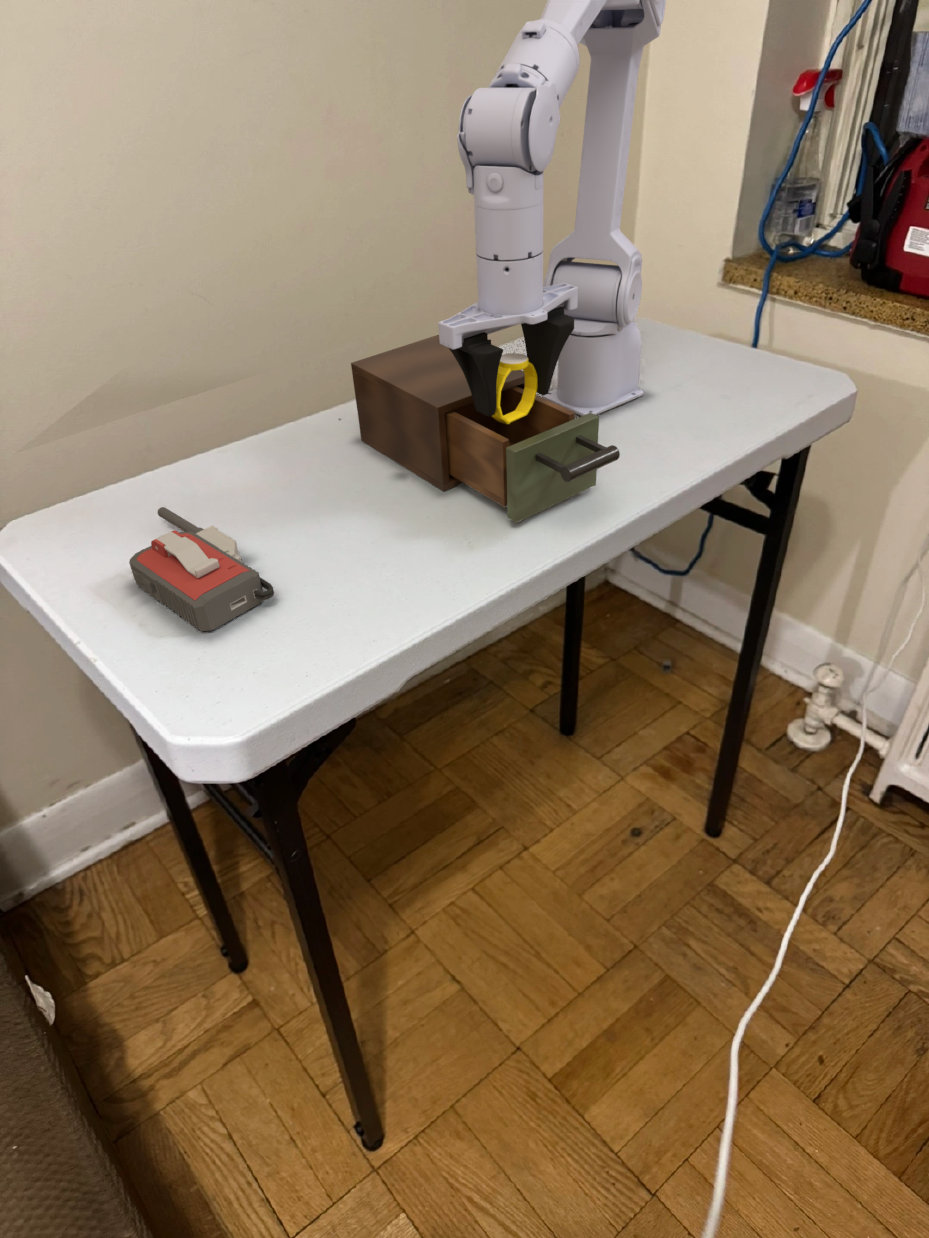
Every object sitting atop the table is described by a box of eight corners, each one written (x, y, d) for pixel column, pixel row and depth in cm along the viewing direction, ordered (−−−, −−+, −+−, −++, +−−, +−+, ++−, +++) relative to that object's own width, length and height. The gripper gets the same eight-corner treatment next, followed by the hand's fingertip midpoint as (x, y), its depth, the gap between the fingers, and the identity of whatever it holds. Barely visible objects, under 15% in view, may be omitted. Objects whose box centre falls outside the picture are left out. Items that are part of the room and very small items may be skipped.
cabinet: (530, 454, 93) (529, 373, 87) (443, 492, 87) (437, 408, 82) (443, 410, 103) (438, 334, 97) (361, 440, 97) (350, 362, 92)
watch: (504, 434, 80) (503, 372, 77) (481, 426, 82) (479, 365, 78) (543, 411, 84) (544, 351, 80) (521, 404, 85) (520, 345, 82)
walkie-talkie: (297, 593, 75) (173, 517, 86) (288, 551, 72) (161, 478, 83) (211, 643, 70) (92, 556, 81) (198, 600, 67) (76, 516, 79)
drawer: (632, 503, 82) (638, 433, 78) (551, 544, 77) (552, 472, 73) (501, 436, 95) (500, 372, 90) (425, 468, 90) (419, 402, 85)
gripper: (471, 281, 68) (478, 440, 76) (604, 242, 74) (597, 392, 83) (419, 263, 72) (431, 415, 80) (548, 228, 79) (547, 371, 87)
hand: (512, 402), depth 82 cm, fingers closed on watch, 6 cm apart
